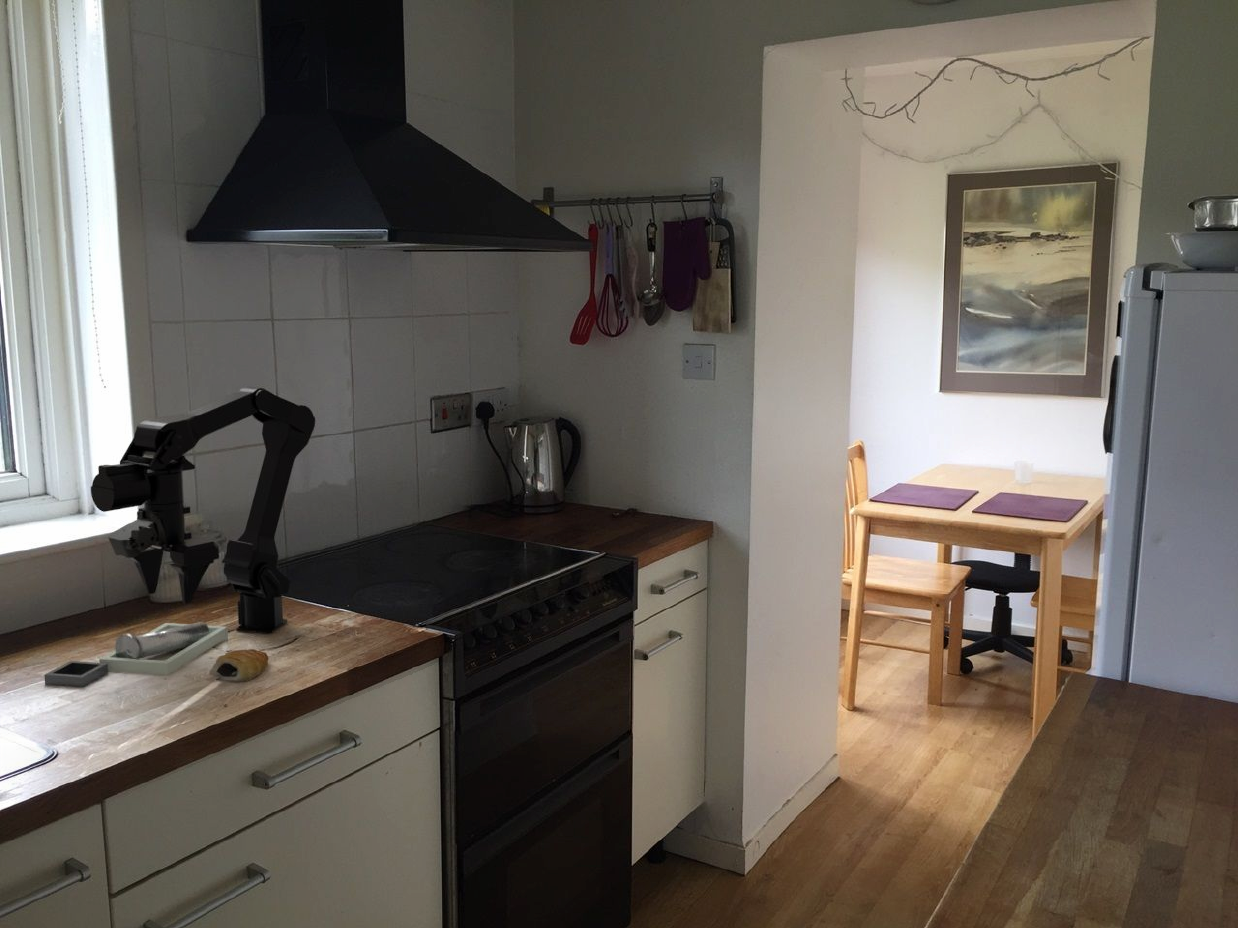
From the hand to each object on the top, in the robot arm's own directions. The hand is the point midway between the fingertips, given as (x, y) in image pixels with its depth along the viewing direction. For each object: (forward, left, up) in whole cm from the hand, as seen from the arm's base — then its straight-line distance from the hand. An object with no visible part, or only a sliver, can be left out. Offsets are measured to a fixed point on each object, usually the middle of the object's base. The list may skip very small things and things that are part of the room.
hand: (169, 598), depth 172 cm
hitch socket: (+7, +14, -9) cm, 18 cm away
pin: (-2, -5, -7) cm, 9 cm away
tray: (0, +1, -9) cm, 9 cm away
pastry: (-14, +5, -10) cm, 18 cm away
